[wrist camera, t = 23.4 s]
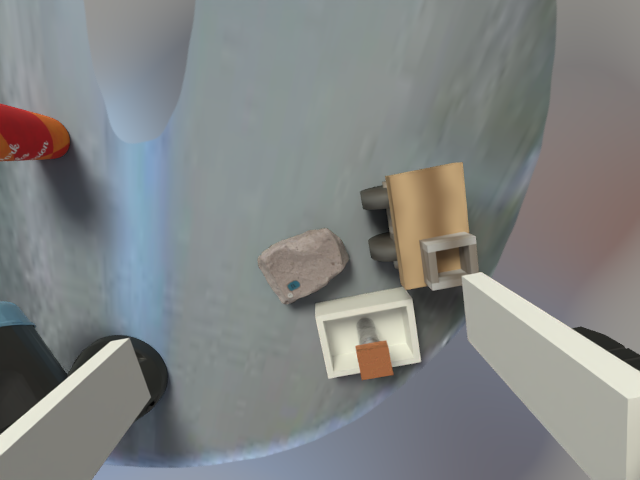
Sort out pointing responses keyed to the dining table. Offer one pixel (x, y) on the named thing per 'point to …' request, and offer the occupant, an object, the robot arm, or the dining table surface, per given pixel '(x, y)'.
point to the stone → (303, 263)
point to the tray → (390, 320)
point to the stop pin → (372, 351)
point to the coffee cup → (30, 136)
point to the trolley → (425, 226)
